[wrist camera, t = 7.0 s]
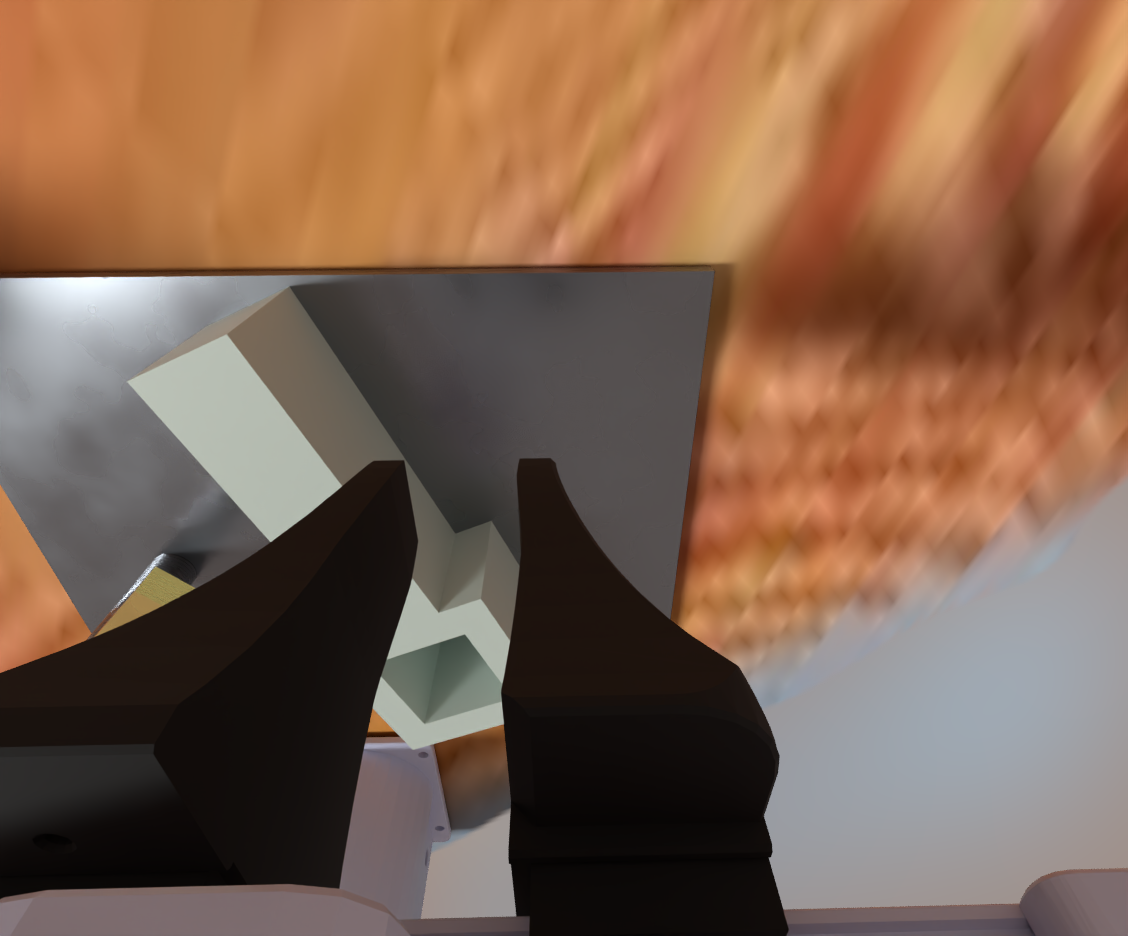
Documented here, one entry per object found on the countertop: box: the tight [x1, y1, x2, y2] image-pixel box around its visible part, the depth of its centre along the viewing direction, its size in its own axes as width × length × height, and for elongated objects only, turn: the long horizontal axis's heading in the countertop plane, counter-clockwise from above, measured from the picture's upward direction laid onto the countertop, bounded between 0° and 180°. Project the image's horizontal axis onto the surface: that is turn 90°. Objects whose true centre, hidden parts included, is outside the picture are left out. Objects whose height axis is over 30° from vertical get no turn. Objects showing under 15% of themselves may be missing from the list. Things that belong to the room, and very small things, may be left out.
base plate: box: [0, 266, 715, 633], centre depth 22 cm, size 17×24×1 cm
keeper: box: [87, 554, 197, 640], centre depth 20 cm, size 2×6×6 cm, turn 134°
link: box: [127, 287, 520, 750], centre depth 20 cm, size 16×6×4 cm, turn 23°
